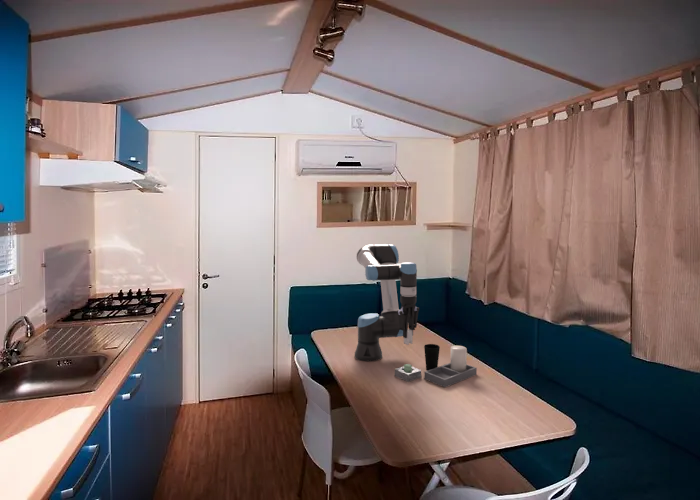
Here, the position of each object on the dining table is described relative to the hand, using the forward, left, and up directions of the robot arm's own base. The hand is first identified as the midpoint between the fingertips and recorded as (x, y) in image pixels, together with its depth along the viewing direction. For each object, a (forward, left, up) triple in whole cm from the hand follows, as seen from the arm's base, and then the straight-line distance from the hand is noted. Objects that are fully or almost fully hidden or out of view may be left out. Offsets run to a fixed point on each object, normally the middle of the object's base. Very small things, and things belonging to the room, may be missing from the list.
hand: (408, 343), depth 199 cm
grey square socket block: (0, 0, -16) cm, 16 cm away
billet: (+13, +22, -15) cm, 30 cm away
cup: (+1, +16, -17) cm, 23 cm away
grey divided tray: (+13, +16, -16) cm, 26 cm away
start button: (0, 0, -14) cm, 14 cm away
